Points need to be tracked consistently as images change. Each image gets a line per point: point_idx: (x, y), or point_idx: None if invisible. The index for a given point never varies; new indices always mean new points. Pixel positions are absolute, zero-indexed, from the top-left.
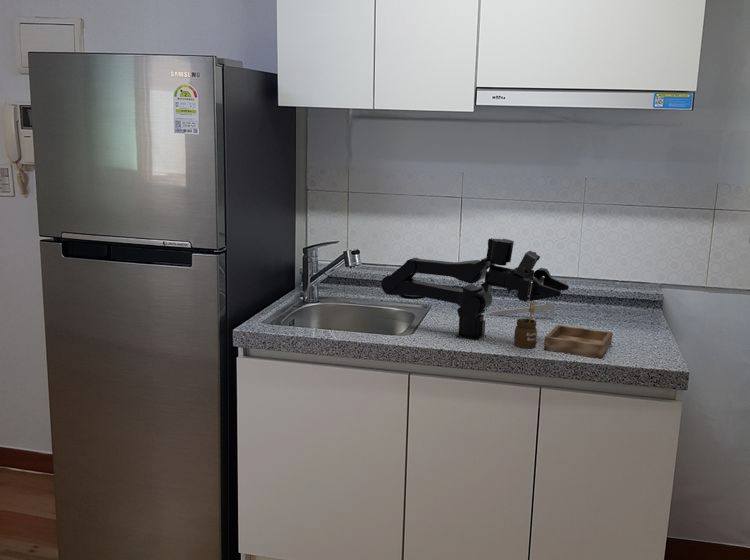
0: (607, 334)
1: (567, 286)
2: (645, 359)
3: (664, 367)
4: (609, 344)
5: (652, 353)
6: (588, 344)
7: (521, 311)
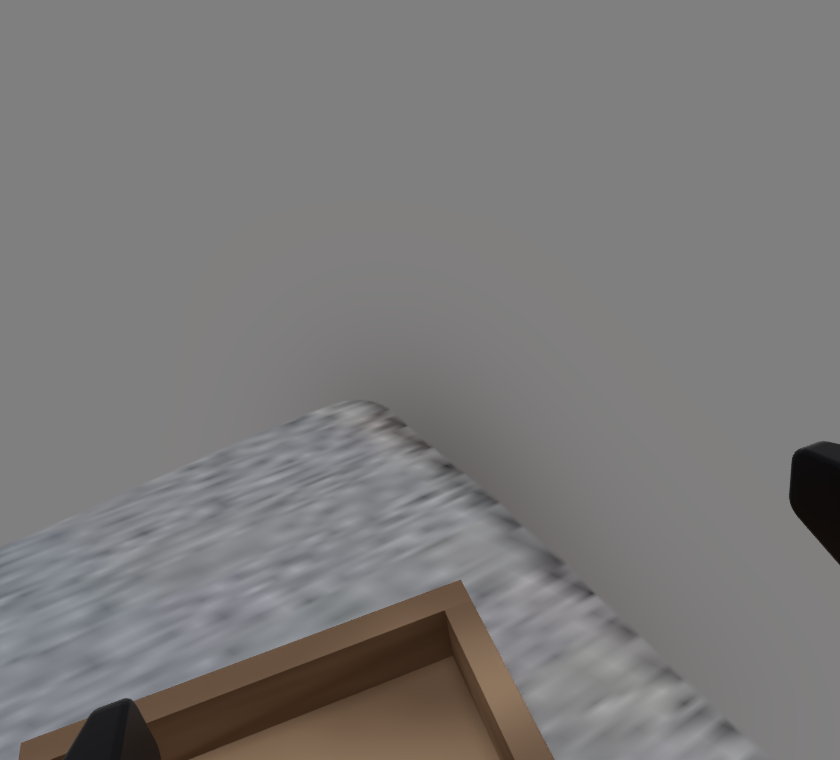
0: None
1: (131, 724)
2: (287, 521)
3: (353, 436)
4: None
5: (146, 555)
6: (503, 663)
7: None
